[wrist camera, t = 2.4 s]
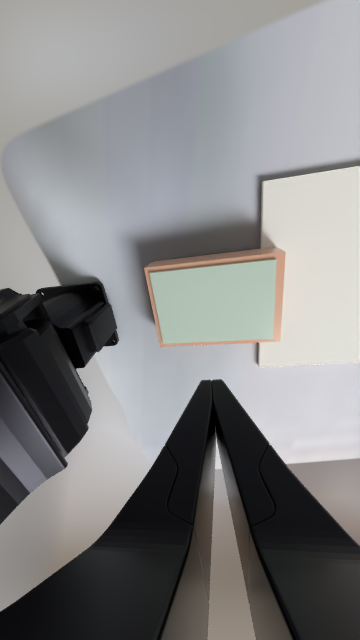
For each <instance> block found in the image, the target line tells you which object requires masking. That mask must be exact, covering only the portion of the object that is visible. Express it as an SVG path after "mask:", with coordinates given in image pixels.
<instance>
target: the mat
mask: <svg viewBox="0 0 360 640" xmlns="http://www.w3.org/2000/svg"><path fill="white" fill-rule="evenodd" d="M270 247H278V248H280V249H281V250H283V251H285V252H286V255H285V272H284V289H283V305H282V322H281V339H280V342H259V343H258V366H259V368H265V367H284V366H304V365H324V364H344V363H360V166H356V167H349V168H343V169H337V170H331V171H324V172H318V173H312V174H306V175H299V176H293V177H287V178H281V179H274V180H268V181H263V182H262V191H261V242H260V249H262V248H270Z"/></svg>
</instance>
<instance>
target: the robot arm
mask: <svg viewBox="0 0 360 640" xmlns="http://www.w3.org/2000/svg"><path fill="white" fill-rule="evenodd" d="M96 286H98V287H99V290H98V289H96ZM41 292H42V293H43V294H44V295H42V293H41ZM116 329H117V325H116V322H115V318H114V315H113V311H112V308H111V305H110V304H109V303H108V300H107V296H106V293H105V289H104V286H103V284H102V283H100V282H92V283H83V284H74V285H65V286H57V287H47V288H41V289H38V290H37V291H36V294H32V295H30V294H25V295H22V294H19V293H17V292H15V291H13V290H12V289H10V288H6V289H2V290H0V524H1V523H2V522H3V521H4V520H5V519H6V518H7V517H8V516H9V514H10V513H11V512H12V511H13V510H14V509H15V508H16V507H17V506H18V505H19V504H20V503H21V502H22V501H23V500H24V499H25V498H26V497H27V496H28V495H29V494H30V493H31V492H32V491H33V490H34V489H36V488H37V487H38V486H40V485H41V484H42V483H43V482H44V481H46V480H47V479H49V478H50V477H52V476H54V475H55V474H57V473H58V472H60V471H62V470H63V469H65V468H66V467H67V464H68V463H67V462H66V460H65V458H64V457H65V456H67V455H68V454H69V453H70V452H71V450H72V449H73V448H74V447H75V446H76V445H77V444H78V443H79V442H80V441H81V439H82V438H83V436H84V435H85V433H86V432H87V430H88V425H87V423H88V421H89V418H90V415H91V412H92V407H91V401H90V399H89V397H88V390H87V388H86V387H85V386H84V385H83V383H82V381H81V379H80V377H79V375H78V373H77V371H76V369H77V368H84V367H85V366H86V364H87V363H88V362H89V360H90V359H91V358H92V357H93V355H94V354H95V353H96V352H99V351H100V350H101V349H102V348H103V346H114V345H116V344H117V343H118V341H119V339H118V335H117V332H116ZM112 339H113V340H115V342H114V341H112ZM215 428H216V429H215ZM216 437H217V443H218V449H219V454H220V459H221V464H222V469H223V474H224V479H225V484H226V489H227V494H228V499H229V504H230V509H231V515H232V520H233V525H234V529H235V535H236V539H237V545H238V550H239V554H240V560H241V565H242V570H243V575H244V580H245V586H246V590H247V596H248V600H249V604H250V611H251V616H252V621H253V626H254V631H255V636H256V640H360V545H359V544H358V543H357V542H356V541H355V540H353V538H352V537H351V536H350V535H349V534H348V533H347V532H346V531H345V530H344V529H343V528H342V527H341V526H340V525H339V523H338V522H337V521H336V520H335V519H334V518H333V517H332V516H331V515H330V514H329V513H328V511H327V510H326V509H325V508H324V507H323V506H322V505H321V504H320V503H319V502H318V500H317V499H316V498H315V497H314V496H313V495H312V494H311V493H310V492H309V491H308V490H307V488H306V487H304V485H303V484H302V483H301V482H300V481H299V480H298V478H297V477H296V476H295V475H294V474H293V473H292V471H291V470H290V469H289V468H288V467H287V465H286V464H285V463H284V462H283V460H282V459H281V458H280V456H279V455H278V454H277V453H276V451H275V450H274V448H273V447H272V446H271V445H269V442H268V441H267V439H266V438H265V437H264V435H263V434H262V433H261V431H260V430H259V429H258V427H257V426H256V425H255V423H254V422H253V420H252V419H251V418H250V416H249V415H248V414H247V412H246V411H245V410H244V408H243V407H242V406H241V404H240V403H239V402H238V400H237V399H236V398H235V396H234V395H233V394H232V392H231V391H230V390H229V388H228V387H227V386H226V384H225V383H224V382H223V380H221V379H219V380H212V381H211V380H202V381H201V382H200V384H199V385H198V387H197V389H196V391H195V393H194V394H193V396H192V398H191V400H190V401H189V403H188V405H187V407H186V408H185V410H184V412H183V414H182V415H181V417H180V419H179V421H178V422H177V424H176V426H175V428H174V430H173V431H172V433H171V435H170V437H169V438H168V440H167V442H166V444H165V446H164V447H163V449H162V450H161V452H160V454H159V456H158V457H157V459H156V461H155V462H154V464H153V466H152V467H151V469H150V470H149V472H148V473H147V475H146V476H145V478H144V479H143V480H142V482H141V483H140V485H139V486H138V488H137V489H136V490H135V492H134V493H133V494H132V496H131V497H130V499H129V500H128V501H127V503H126V504H125V505H124V507H123V508H122V510H121V511H120V512H119V514H118V515H117V516H116V518H115V519H114V521H113V522H112V523H111V525H110V526H109V527H108V529H107V530H106V531H105V532H104V533H103V534H102V536H101V537H100V538H99V539H98V540H97V541H96V542H95V543H94V544H92V545H91V546H90V547H89V548H88V549H87V550H85V551H84V552H82V553H81V554H80V555H78V556H77V557H76V558H74V559H73V560H72V561H70V562H69V563H67V564H66V565H65V566H63V567H62V568H61V569H59V570H58V571H57V572H55V573H54V574H52V576H50V577H48V578H47V579H46V580H44V581H43V582H42V583H40V584H39V585H38V586H36V587H35V588H33V589H32V590H31V591H29V592H28V593H27V594H25V595H24V596H23V597H21V598H20V599H19V600H17V601H16V602H14V603H13V604H11V605H10V606H8V607H7V608H5V609H4V610H2V611H0V640H207V637H208V614H209V590H210V567H211V543H212V520H213V498H214V475H215V453H216Z"/></svg>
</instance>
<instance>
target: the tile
mask: <svg viewBox="0 0 360 640" xmlns="http://www.w3.org/2000/svg"><path fill="white" fill-rule="evenodd" d="M285 255H286V252H285V251H283V250H281V249H280V248H278V247H270V248H262V249H253V250H245V251H236V252H228V253H220V254H211V255H203V256H194V257H186V258H177V259H169V260H160V261H152V262H151V263H150V264H148V265H147V266H146V267H145V268H144V270H145V275H146V280H147V285H148V290H149V295H150V300H151V304H152V309H153V314H154V319H155V324H156V329H157V334H158V338H159V343H160V347H164V346H188V345H211V344H235V343H259V342H280V339H281V322H282V305H283V289H284V272H285Z"/></svg>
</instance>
